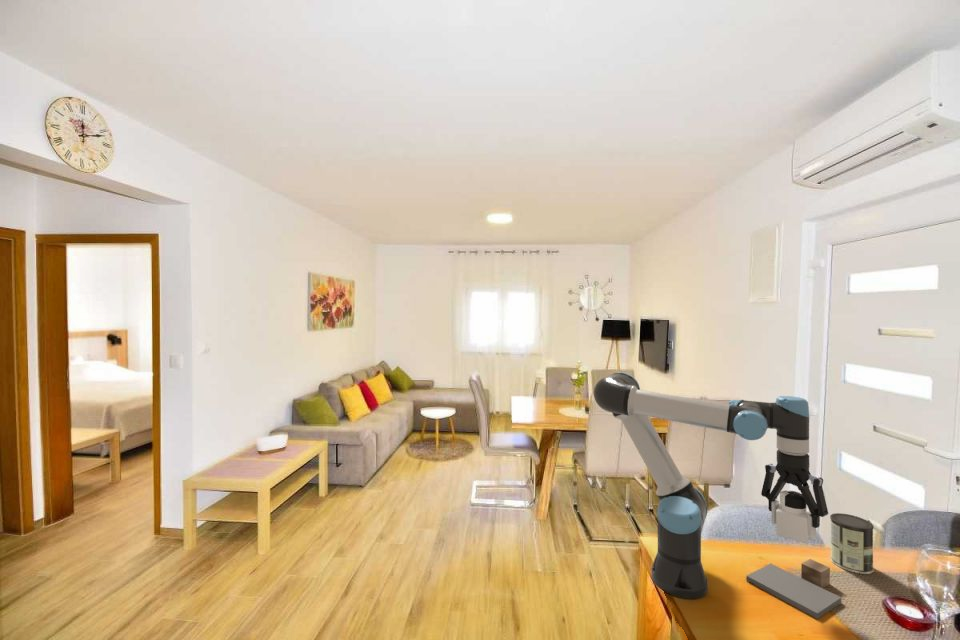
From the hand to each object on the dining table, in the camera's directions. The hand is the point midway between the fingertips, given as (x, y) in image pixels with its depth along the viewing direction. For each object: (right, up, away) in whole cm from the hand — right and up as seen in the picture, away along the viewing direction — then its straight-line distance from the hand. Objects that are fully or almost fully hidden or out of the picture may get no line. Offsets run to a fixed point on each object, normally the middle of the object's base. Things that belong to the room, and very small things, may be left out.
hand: (793, 530), depth 120 cm
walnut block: (+10, -18, +5) cm, 21 cm away
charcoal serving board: (0, -18, 0) cm, 18 cm away
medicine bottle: (0, -2, 0) cm, 2 cm away
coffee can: (+28, -18, +13) cm, 36 cm away
